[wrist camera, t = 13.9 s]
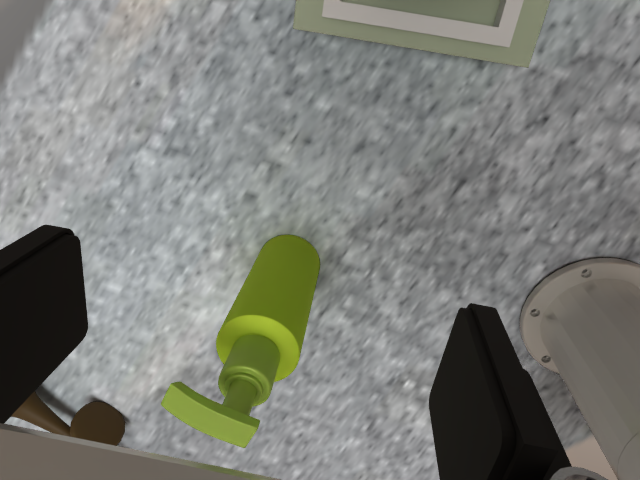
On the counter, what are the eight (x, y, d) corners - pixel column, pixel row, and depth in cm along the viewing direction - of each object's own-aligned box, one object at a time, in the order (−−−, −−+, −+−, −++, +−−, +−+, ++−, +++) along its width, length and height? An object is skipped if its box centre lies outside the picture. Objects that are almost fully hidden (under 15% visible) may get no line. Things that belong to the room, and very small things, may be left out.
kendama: (17, 335, 51) (158, 434, 55) (-12, 378, 55) (121, 468, 59) (-27, 371, 46) (132, 478, 50) (-56, 416, 50) (93, 512, 53)
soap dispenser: (264, 218, 41) (179, 364, 23) (331, 252, 42) (298, 420, 24) (240, 266, 43) (145, 433, 25) (303, 298, 44) (254, 482, 26)
